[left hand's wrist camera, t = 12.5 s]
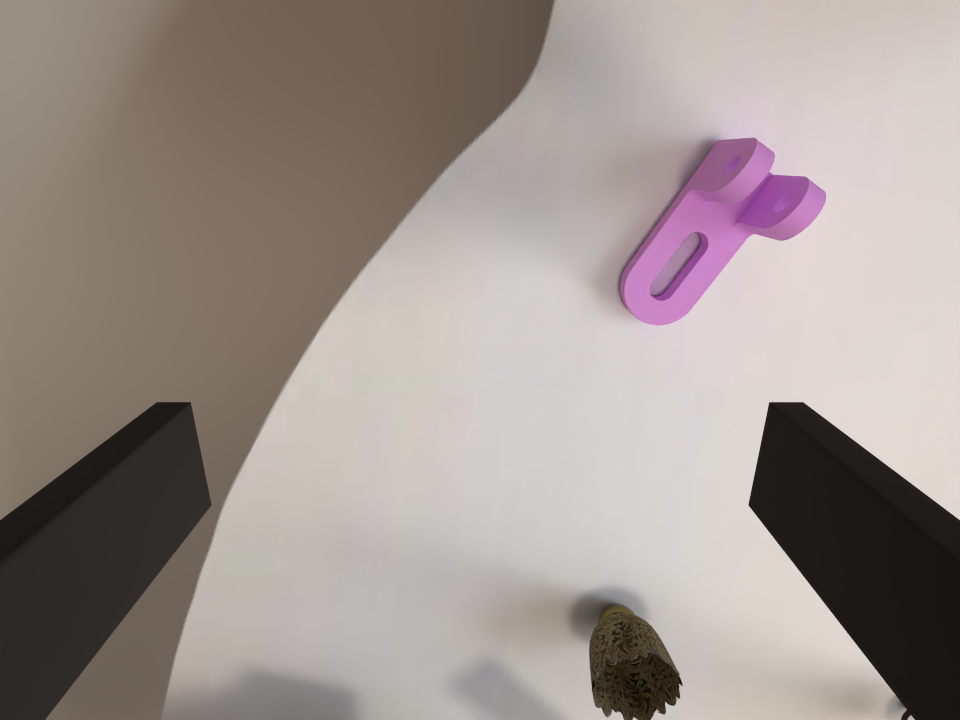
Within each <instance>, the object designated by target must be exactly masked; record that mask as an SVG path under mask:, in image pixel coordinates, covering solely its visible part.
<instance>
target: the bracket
mask: <svg viewBox="0 0 960 720" xmlns="http://www.w3.org/2000/svg"><path fill="white" fill-rule="evenodd" d="M774 158H775V154H774V152H772V151H771V150H770V149H769V148H767V147H766V146H765V145H763V144H762V143H761V142H759V141H758V140H757V139H755V138H743V139H730V140H718V141H717V142H716V144H715V145H714V146H713V148H712V149H711V151H710V152H709V153H708V155H707V156H706V157H705V159H704V160H703V162H702V163H701V164H700V166H699V167H698V168H697V170H696V171H695V173H694V174H693V175H692V177H691V178H690V180H689V181H688V182H687V184H686V185H685V186H684V188H683V189H682V191H681V192H680V193H679V195H678V196H677V197H676V199H675V200H674V202H673V203H672V204H671V206H670V207H669V208H668V210H667V211H666V213H665V214H664V215H663V217H662V218H661V220H660V221H659V222H658V224H657V225H656V226H655V228H654V229H653V231H652V232H651V233H650V235H649V236H648V237H647V239H646V240H645V242H644V243H643V244H642V246H641V247H640V248H639V250H638V251H637V253H636V254H635V255H634V257H633V258H632V259H631V261H630V262H629V264H628V265H627V267H626V268H625V270H624V272H623V274H622V277H621V282H620V294H621V298H622V300H623V303H624V304H625V306H626V307H627V309H628V310H629V311H630V312H631V313H632V314H633V315H634V316H635V317H636V318H638V319H639V320H641V321H643V322H645V323H648V324H652V325H664V324H669V323H672V322H675V321H677V320H679V319H680V318H682V317H683V316H685V315H686V314H687V313H688V312H689V311H690V310H691V309H692V308H693V306H694V305H695V304H696V302H697V301H698V300H699V299H700V297H701V296H702V295H703V294H704V292H705V291H706V290H707V289H708V287H709V286H710V285H711V283H712V282H713V281H714V280H715V278H716V277H717V276H718V275H719V273H720V272H721V271H722V269H723V268H724V267H725V266H726V264H727V263H728V262H729V261H730V259H731V258H732V257H733V256H734V254H735V253H736V252H737V250H738V249H739V248H740V247H741V245H742V244H743V243H744V242H745V240H746V239H747V238H748V237H749V236H750V235H752V234H757V235H761V236H765V237H768V238H772V239H776V240H787V239H790V238H792V237H794V236H796V235H797V234H799V233H800V232H802V231H803V230H804V229H805V228H807V227H808V226H809V225H810V224H811V223H812V222H813V221H814V219H815V218H816V217H817V216H818V214H819V213H820V211H821V210H822V208H823V206H824V204H825V200H826V193H825V191H823V190H822V189H821V188H820V187H818V186H817V185H816V184H814V183H813V182H812V181H810V180H809V179H808V178H806V177H801V176H783V175H772V174H771V173H770V172H769V170H770V169H771V167H772V165H773V162H774ZM694 232H698V233H699V235H700V237H701V245H700V247H699V249H698V250H697V251H696V253H695V254H694V255H693V257H692V258H691V259H690V261H689V262H688V263H687V265H686V266H685V267H684V268H683V270H682V271H681V272H680V274H679V275H678V276H677V278H676V279H675V280H674V282H673V283H672V284H671V286H670V287H669V288H668V289H667V291H666V292H665V293H664V294H662V295H660V296H651V294H650V286H651V284H652V282H653V281H654V279H655V278H656V277H657V275H658V274H659V273H660V271H661V270H662V269H663V267H664V266H665V265H666V263H667V262H668V261H669V259H670V258H671V257H672V255H673V254H674V253H675V251H676V250H677V249H678V247H679V246H680V245H681V243H682V242H683V241H684V239H685V238H686V237H687V236H688V235H689V234H691V233H694Z"/></svg>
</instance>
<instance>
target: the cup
mask: <svg viewBox="0 0 960 720" xmlns="http://www.w3.org/2000/svg"><path fill="white" fill-rule="evenodd" d="M589 657H590V671H591V682H592V692H593V698H594V702H595V706H596V707H597V708H602V710H603V713H604V714H605V716H606V717H609V716H610V715H611V712H612V710H611V709H613V710H614V711H615V712H616V713H617V711H619V712H621V713H622V715H623V717H624V720H632V719H633V717H635V718H636V719H638V720H651V718H652V717H653V715H654V712H655V711H656V710H657V709H658V711H659V712H658V713H661V714H665V713H666V709H665V702H666V703H668V704H669V705H671V706H674V705H675V704H676V700H677V699H676V697H677V698H679V699H680V692H679V684H680V685H681V686H683V685H682V682H681V679H680V677H679V675H680V674H679V672H678V671H677V669H676V667H675V665H674V663H673V661H672V659H671V657H670V655H669V654H668V652H667V650H666V648H665V646H664V644H663V642H662V641H661V639H660V637H659V636H658V634H657V633H656V631H655V630H654V629H653V628H652V626H651V625H650V624H648V623H647V622H646V621H645V620H643V619H642V618H640V617H638V616H635V614H634V613H633V612H632V611H631V610H630V609H629V608H627V607H625V606H623V605H612V606H609V607H607V608H606V609H604V610H603V611H602V612H601V614H600V616H599V620H598V625H597V626H596V628H595V629H594V631H593V633H592V636H591V640H590V647H589ZM664 700H665V701H664Z"/></svg>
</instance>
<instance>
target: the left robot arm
mask: <svg viewBox="0 0 960 720" xmlns="http://www.w3.org/2000/svg"><path fill="white" fill-rule="evenodd" d="M210 506H211V501H210V496H209V491H208V486H207V481H206V476H205V471H204V466H203V461H202V456H201V451H200V446H199V441H198V437H197V431H196V426H195V422H194V417H193V412H192V407H191V403H190V402H157V403H155V404H154V405H153V406H151V407H150V408H149V409H147V410H146V411H145V412H143V413H142V414H141V415H139V416H138V417H137V418H135V419H134V420H133V421H131V422H130V423H129V424H127V425H126V426H125V427H124V428H122V429H121V430H120V431H118V432H117V433H116V434H114V435H113V436H112V437H110V438H109V439H108V440H106V441H105V442H104V443H102V444H101V445H100V446H98V447H97V448H96V449H94V450H93V451H92V452H90V453H89V454H88V455H86V456H85V457H84V458H82V459H81V460H80V461H78V462H77V463H76V464H74V465H73V466H72V467H70V468H69V469H68V470H66V471H65V472H64V473H62V474H61V475H60V476H58V477H57V478H56V479H54V480H53V481H52V482H50V483H49V484H48V485H46V486H45V487H44V488H43V489H41V490H40V491H39V492H37V493H36V494H35V495H33V496H32V497H31V498H29V499H28V500H27V501H25V502H24V503H23V504H21V505H20V506H19V507H17V508H16V509H15V510H13V511H12V512H11V513H9V514H8V515H7V516H5V517H4V518H3V519H1V520H0V720H45V719H46V718H47V716H48V715H49V714H50V713H51V711H52V710H53V709H54V707H55V706H56V705H57V704H58V702H59V701H60V700H61V698H62V697H63V696H64V695H65V693H66V692H67V691H68V689H69V688H70V687H71V686H72V684H73V683H74V682H75V680H76V679H77V678H78V677H79V675H80V674H81V673H82V671H83V670H84V669H85V667H86V666H87V665H88V664H89V662H90V661H91V660H92V658H93V657H94V656H95V655H96V653H97V652H98V651H99V649H100V648H101V647H102V646H103V644H104V643H105V642H106V640H107V639H108V638H109V637H110V635H111V634H112V633H113V631H114V630H115V629H116V627H117V626H118V625H119V624H120V622H121V621H122V620H123V619H124V617H125V616H126V615H127V613H128V612H129V611H130V609H131V608H132V607H133V606H134V604H135V603H136V602H137V600H138V599H139V598H140V597H141V595H142V594H143V593H144V591H145V590H146V589H147V588H148V586H149V585H150V584H151V582H152V581H153V580H154V578H155V577H156V576H157V575H158V573H159V572H160V571H161V570H162V568H163V567H164V566H165V564H166V563H167V562H168V560H169V559H170V558H171V557H172V555H173V554H174V553H175V551H176V550H177V549H178V548H179V546H180V545H181V544H182V542H183V541H184V540H185V539H186V537H187V536H188V535H189V533H190V532H191V531H192V530H193V528H194V527H195V526H196V524H197V523H198V522H199V521H200V519H201V518H202V517H203V515H204V514H205V513H206V511H207V510H208V509H209V508H210ZM749 506H750V508H751V509H752V510H753V512H754V513H755V514H756V515H757V517H758V518H759V519H760V521H761V522H762V523H763V524H764V526H765V527H766V528H767V530H768V531H769V532H770V533H771V535H772V536H773V537H774V539H775V540H776V541H777V542H778V544H779V545H780V546H781V548H782V549H783V550H784V551H785V553H786V554H787V555H788V557H789V558H790V559H791V561H792V562H793V563H794V564H795V566H796V567H797V568H798V570H799V571H800V572H801V573H802V575H803V576H804V577H805V579H806V580H807V581H808V582H809V584H810V585H811V586H812V588H813V589H814V590H815V591H816V593H817V594H818V595H819V597H820V598H821V599H822V600H823V602H824V603H825V604H826V606H827V607H828V608H829V609H830V611H831V612H832V613H833V615H834V616H835V617H836V619H837V620H838V621H839V622H840V624H841V625H842V626H843V628H844V629H845V630H846V631H847V633H848V634H849V635H850V637H851V638H852V639H853V640H854V642H855V643H856V644H857V646H858V647H859V648H860V649H861V651H862V652H863V653H864V655H865V656H866V657H867V658H868V660H869V661H870V662H871V664H872V665H873V666H874V667H875V669H876V670H877V671H878V673H879V674H880V675H881V677H882V678H883V679H884V680H885V682H886V683H887V684H888V686H889V687H890V688H891V689H892V691H893V692H894V693H895V695H896V696H897V697H898V698H899V700H900V701H901V702H902V704H903V705H904V706H905V707H906V709H907V710H908V711H909V713H910V714H911V715H912V716H913V718H914V719H915V720H960V520H959V519H957V518H956V517H955V516H953V515H952V514H951V513H949V512H948V511H947V510H945V509H944V508H943V507H941V506H940V505H939V504H937V503H936V502H935V501H933V500H932V499H931V498H929V497H928V496H927V495H925V494H924V493H923V492H921V491H920V490H919V489H917V488H916V487H915V486H914V485H912V484H911V483H910V482H908V481H907V480H906V479H904V478H903V477H902V476H900V475H899V474H898V473H896V472H895V471H894V470H892V469H891V468H890V467H888V466H887V465H886V464H884V463H883V462H882V461H880V460H879V459H878V458H876V457H875V456H874V455H872V454H871V453H870V452H868V451H867V450H866V449H864V448H863V447H862V446H860V445H859V444H858V443H856V442H855V441H854V440H852V439H851V438H850V437H848V436H847V435H846V434H844V433H843V432H842V431H840V430H839V429H838V428H837V427H835V426H834V425H833V424H831V423H830V422H829V421H827V420H826V419H825V418H823V417H822V416H821V415H819V414H818V413H817V412H815V411H814V410H813V409H811V408H810V407H809V406H807V405H806V404H805V403H803V402H769V407H768V412H767V417H766V422H765V426H764V431H763V436H762V441H761V446H760V451H759V456H758V461H757V466H756V471H755V476H754V481H753V486H752V491H751V496H750V500H749Z"/></svg>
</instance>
